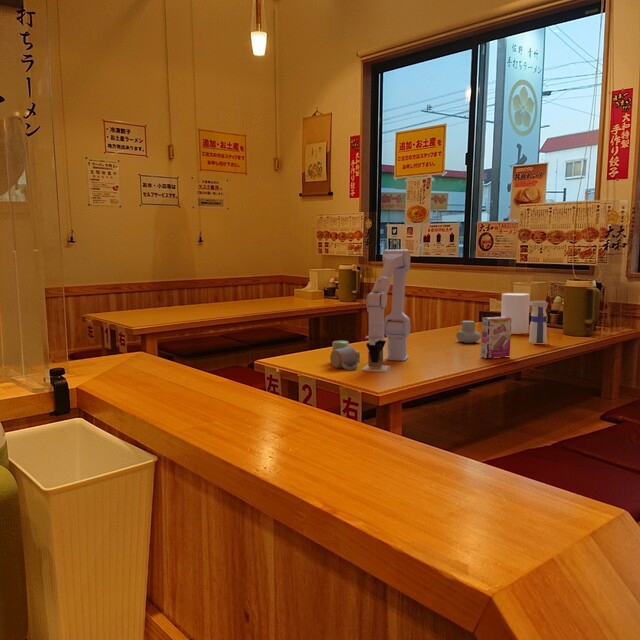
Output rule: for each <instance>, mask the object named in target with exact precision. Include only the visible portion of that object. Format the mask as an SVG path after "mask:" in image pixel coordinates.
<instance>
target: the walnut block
mask: <svg viewBox="0 0 640 640" xmlns="http://www.w3.org/2000/svg"><path fill="white" fill-rule="evenodd" d="M367 355H368V356H367V357H368V360H367V361H368V363H367V364H368V367H381V366H382V365H384V349H383V350H380V352H379V359H378V362H377V363H373V362H372V361H371V356H370V352H369V351H368V354H367Z"/></svg>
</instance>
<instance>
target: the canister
mask: <svg viewBox="0 0 640 640" xmlns="http://www.w3.org/2000/svg"><path fill="white" fill-rule="evenodd" d="M530 299H531V298H530V293H524V292H506V293H505V292H504V293H501V308H500V309H501V310H500V313H501V314H500V317H509V318H511V333H514V334H515V333H516V334H519V333H528V334H529V328H530V324H529V323H530V322H529V321H530Z"/></svg>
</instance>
